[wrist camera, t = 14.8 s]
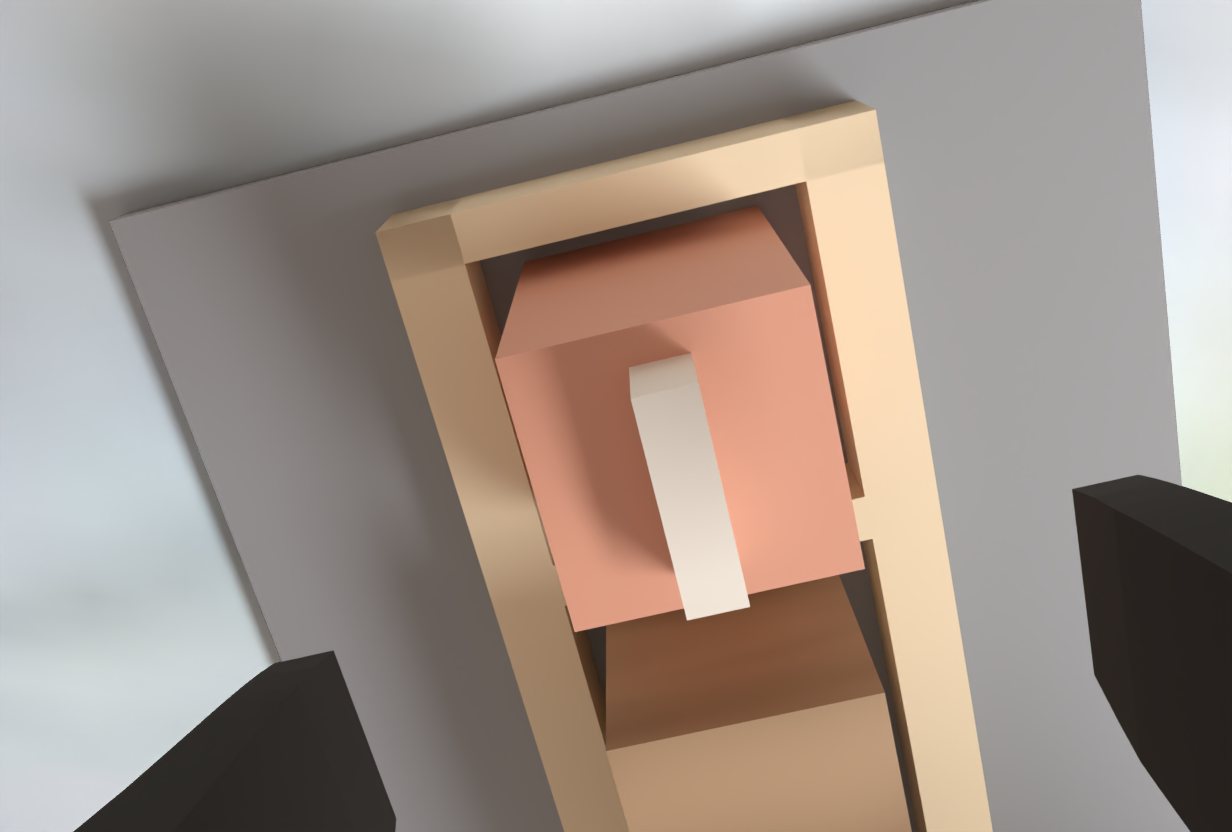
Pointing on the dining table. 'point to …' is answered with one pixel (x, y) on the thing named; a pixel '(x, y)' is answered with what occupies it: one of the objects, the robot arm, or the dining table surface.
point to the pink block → (678, 421)
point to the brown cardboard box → (752, 719)
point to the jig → (857, 371)
